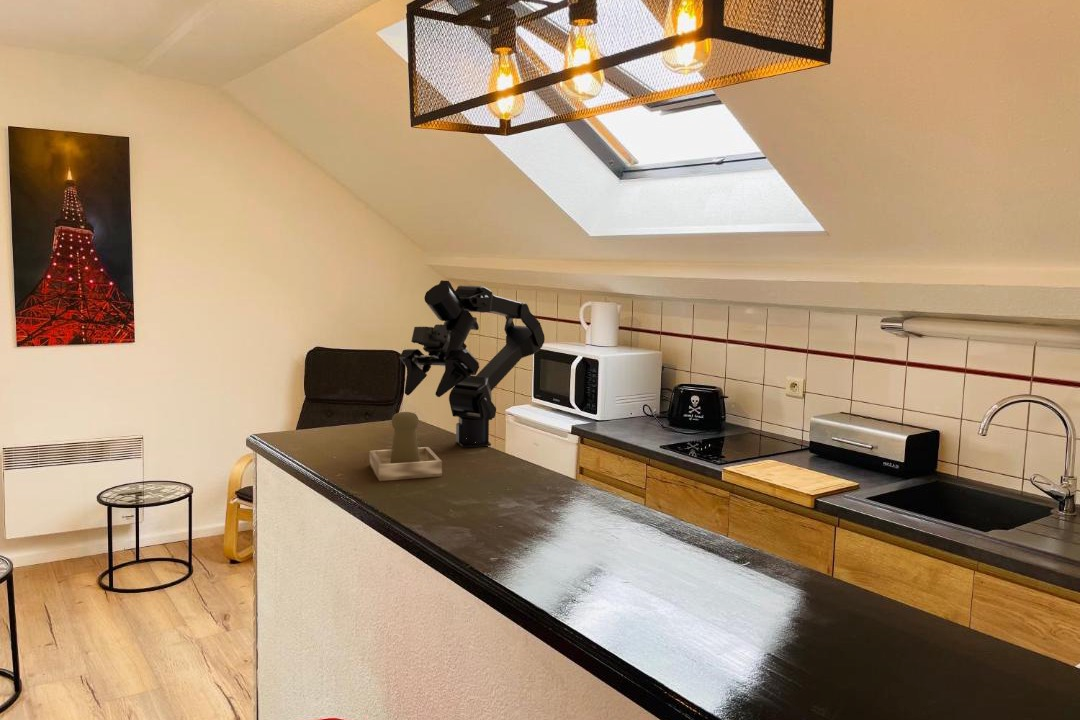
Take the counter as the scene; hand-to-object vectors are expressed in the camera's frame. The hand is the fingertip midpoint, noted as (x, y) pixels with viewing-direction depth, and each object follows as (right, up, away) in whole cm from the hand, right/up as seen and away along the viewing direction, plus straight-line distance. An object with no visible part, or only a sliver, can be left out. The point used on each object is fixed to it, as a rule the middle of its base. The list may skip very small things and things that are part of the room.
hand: (421, 395), depth 172 cm
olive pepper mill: (-2, -14, -6) cm, 16 cm away
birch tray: (-2, -15, -7) cm, 16 cm away
